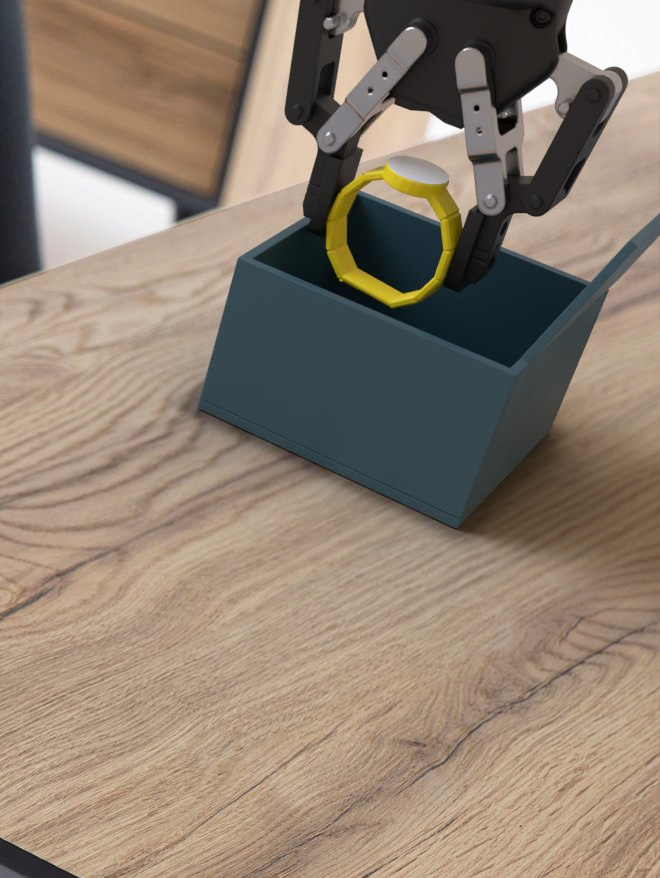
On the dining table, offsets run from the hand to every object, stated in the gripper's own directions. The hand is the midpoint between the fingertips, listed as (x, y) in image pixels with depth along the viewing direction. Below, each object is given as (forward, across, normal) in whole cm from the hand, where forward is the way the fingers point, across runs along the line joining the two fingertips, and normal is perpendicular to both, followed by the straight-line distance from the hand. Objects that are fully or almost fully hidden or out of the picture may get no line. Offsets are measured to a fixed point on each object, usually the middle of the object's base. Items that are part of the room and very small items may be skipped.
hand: (389, 256), depth 77 cm
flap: (-4, -9, 0) cm, 10 cm away
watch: (+2, 0, 0) cm, 2 cm away
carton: (+7, -2, 0) cm, 8 cm away
